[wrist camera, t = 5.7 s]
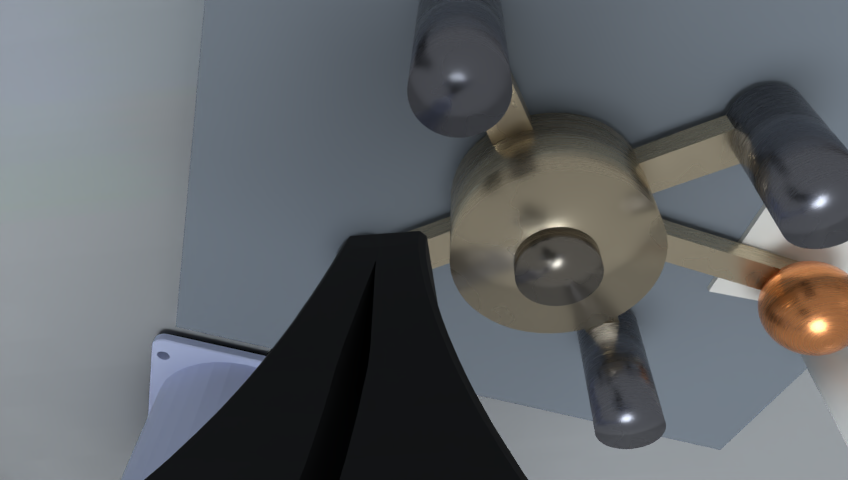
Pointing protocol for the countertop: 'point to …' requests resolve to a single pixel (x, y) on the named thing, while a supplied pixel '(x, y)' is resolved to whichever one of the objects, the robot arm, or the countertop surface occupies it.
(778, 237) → the white rounded posts
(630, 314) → the capstan
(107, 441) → the countertop surface
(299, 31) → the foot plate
